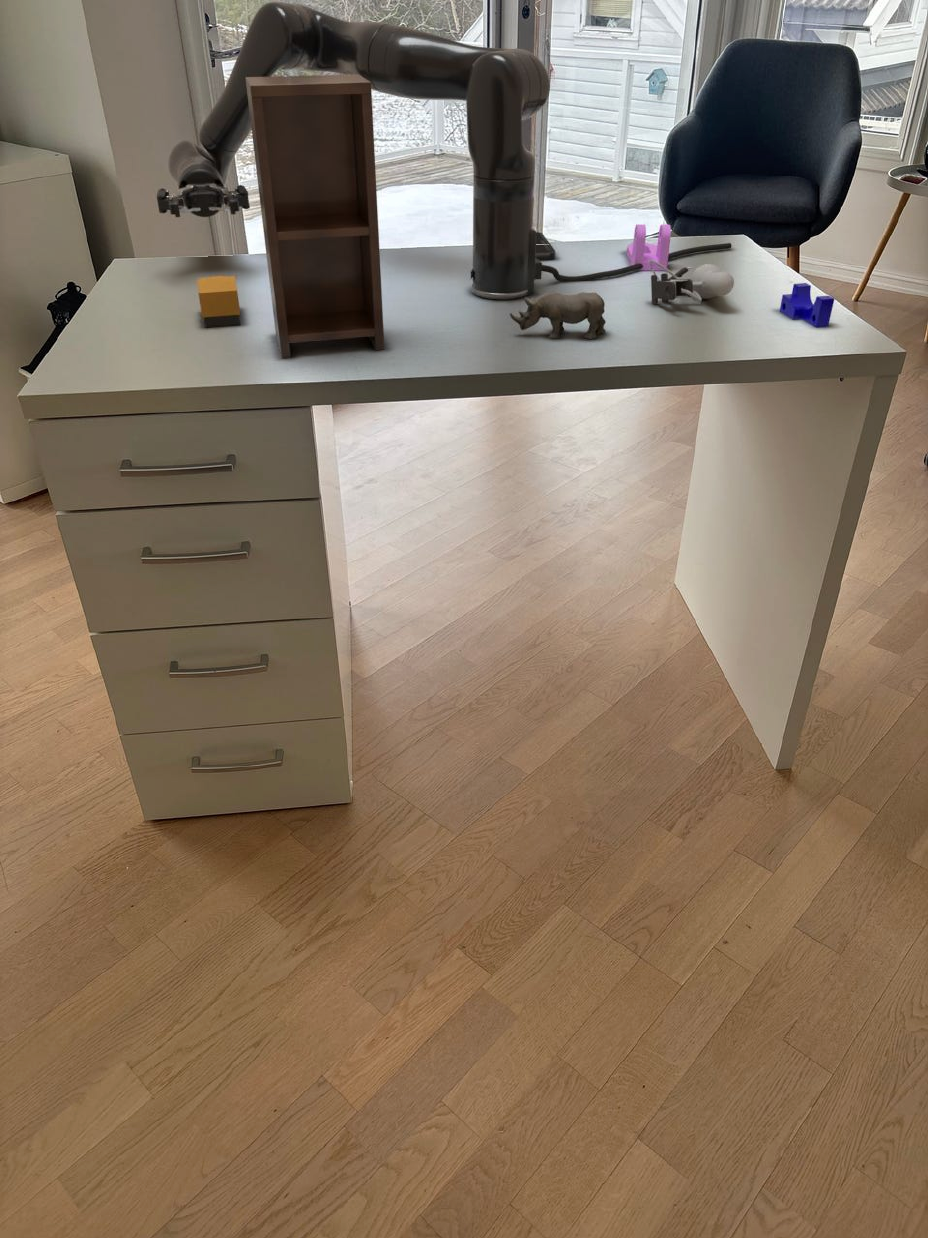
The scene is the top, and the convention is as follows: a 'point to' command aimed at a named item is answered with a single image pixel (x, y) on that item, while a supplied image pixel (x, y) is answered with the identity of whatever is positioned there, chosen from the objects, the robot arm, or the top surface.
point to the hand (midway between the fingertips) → (205, 208)
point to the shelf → (318, 205)
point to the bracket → (649, 248)
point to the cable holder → (807, 306)
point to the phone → (543, 248)
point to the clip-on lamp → (691, 283)
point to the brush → (219, 301)
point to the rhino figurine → (564, 312)
